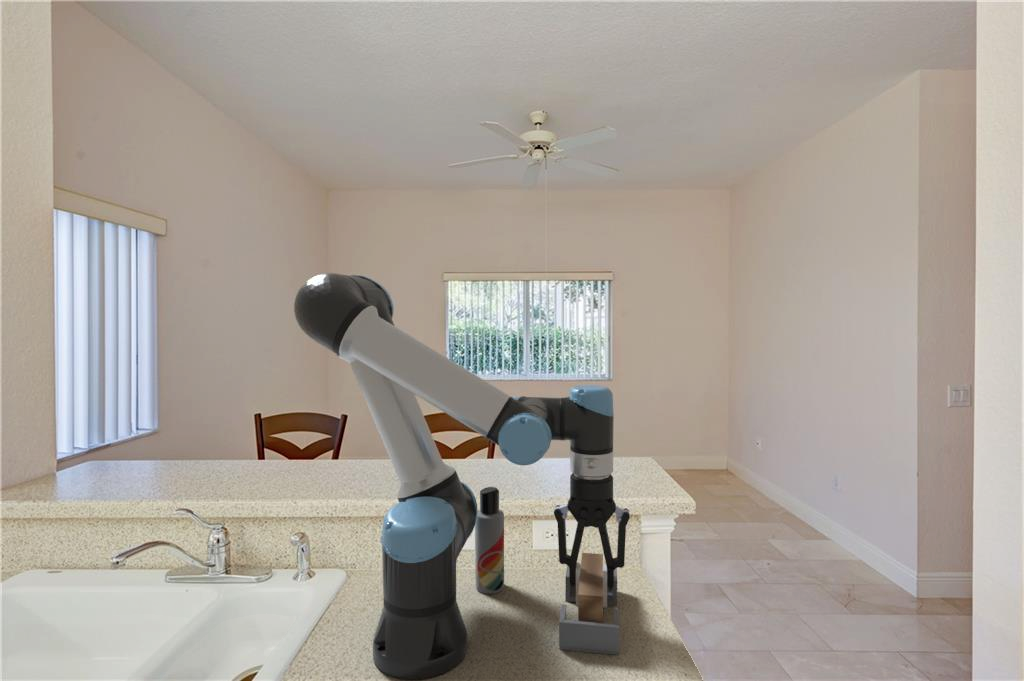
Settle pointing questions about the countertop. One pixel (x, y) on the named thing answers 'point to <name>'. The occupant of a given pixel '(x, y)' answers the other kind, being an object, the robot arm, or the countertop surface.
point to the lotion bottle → (489, 543)
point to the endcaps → (589, 626)
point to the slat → (591, 588)
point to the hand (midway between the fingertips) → (591, 602)
